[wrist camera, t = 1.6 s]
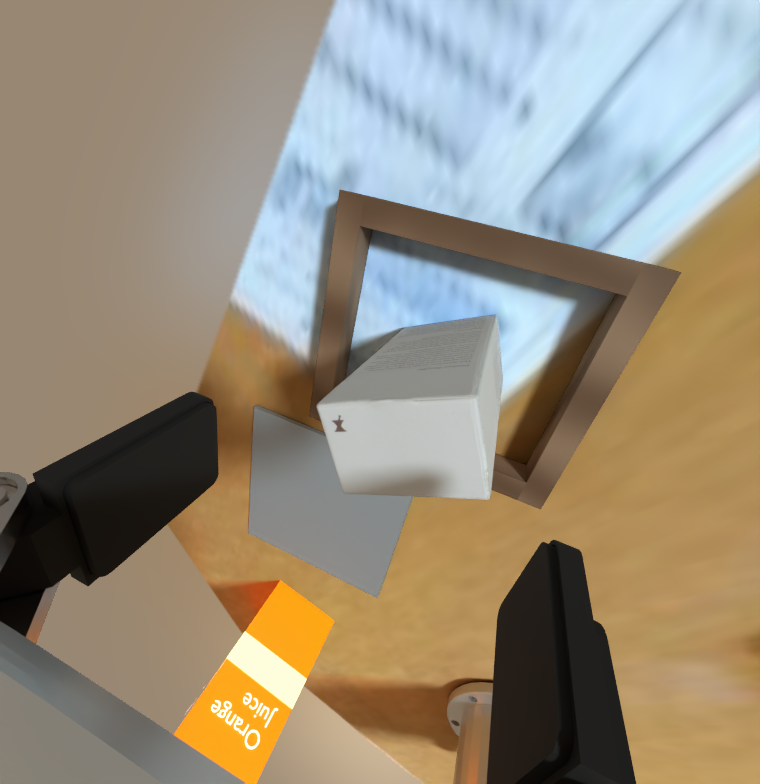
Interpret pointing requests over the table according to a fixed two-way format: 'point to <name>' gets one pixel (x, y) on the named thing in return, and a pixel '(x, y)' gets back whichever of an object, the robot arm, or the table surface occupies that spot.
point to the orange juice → (257, 685)
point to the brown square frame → (596, 269)
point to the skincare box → (420, 413)
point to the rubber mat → (318, 505)
